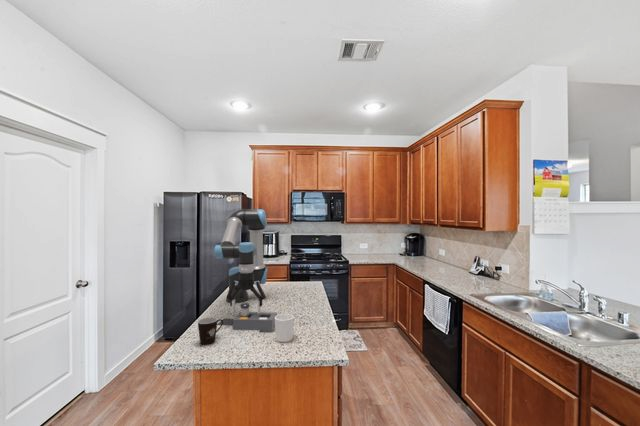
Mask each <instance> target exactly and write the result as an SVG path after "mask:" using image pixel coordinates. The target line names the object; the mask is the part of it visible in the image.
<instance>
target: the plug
mask: <svg viewBox="0 0 640 426" xmlns="http://www.w3.org/2000/svg"><path fill="white" fill-rule="evenodd" d="M240 312H241V317H248V318H249V312H250V303H247V302H246V303H244V302H243V303H241V304H240Z"/></svg>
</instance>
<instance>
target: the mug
mask: <svg viewBox="0 0 640 426" xmlns="http://www.w3.org/2000/svg"><path fill="white" fill-rule="evenodd" d="M294 319H295V317H294V315H293V314H288V313H282V314H277V316H275V328H274V331H275V332H274V333H275V341H276V342H277V343H283V344H284V343H289V342H291V341H292V340H293V339H294V338H293V337H294V321H295V320H294Z"/></svg>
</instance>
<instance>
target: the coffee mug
mask: <svg viewBox="0 0 640 426" xmlns="http://www.w3.org/2000/svg"><path fill="white" fill-rule="evenodd" d="M220 321H222V324H221V325H219V327H218V325H217V324H218V323H219V322H220ZM223 326H224V325H223V319H220V318H219V319H218V317H214V316H213V317H211V316H210V317H204V318H199V319H198V321H197V327H198V335H199V336H198V337H199V343H200V345H201V346H211V345H213V344H214V343H215V342H216V336H217V333H218V332H219V330H220V329H221V328H222V327H223Z"/></svg>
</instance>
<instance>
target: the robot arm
mask: <svg viewBox="0 0 640 426" xmlns="http://www.w3.org/2000/svg"><path fill="white" fill-rule="evenodd" d="M266 214H267V213H266V211H265V210H264V209H262V208H261V209H260V208H259V209H258V208H255V209H254V208H249V209H248V208H246V209H245V208H242V209H238V210H236V211H234V212H233V213H231V214H230V216H229V217H228V218H227V220H226V229H225V231H224V234H223V237H222V240H221V242H220V244H216V245H215V246H214V249H213V255H214V258H215V259H216V260H217V259H220V260H224V259H225V260H226V259H227V260H229V259H238V265H237V266H234V267H233V266H232V267H231V268H230V269H229V270H228V291H227V295H226V298H225V300H226V302H227V303H229V306H230V307H231V314H234V313H236V304H237V303H244V302H247V301H248V300H249V294H248V291H251V292H252V293H253V295H254V296H255V297H256V298H257V312H258V313H260V312H261V308H262V306H263V300H265V299H266V298H267V296H266V295H265V293H264V290H263V288H262V286H261V285H265V284H266V282H267V278H268V276H267V275H268V267H266V264H265V263H264V237H263V235H264V233H263V232H264V231H265V229H266V227H267V226H268V223H267V222H268V221H267V215H266ZM242 227H247V230H248V232H249V242H247V241H245V242H240V243H239V244H236V241H237V239H238V234H239V230H240V229H241V228H242ZM254 285H255V286H256V288H257V289H256V288H255V286H254Z"/></svg>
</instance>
